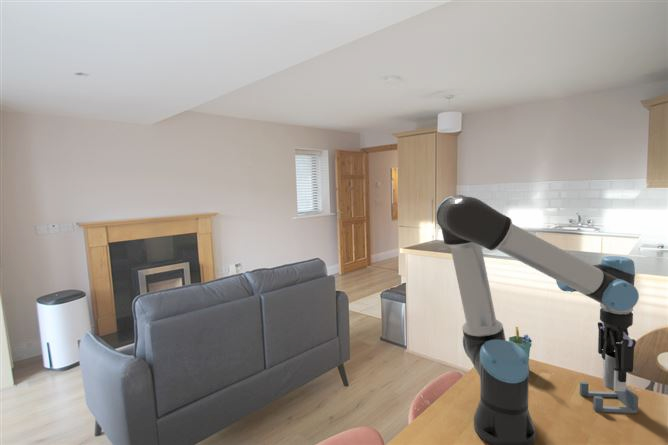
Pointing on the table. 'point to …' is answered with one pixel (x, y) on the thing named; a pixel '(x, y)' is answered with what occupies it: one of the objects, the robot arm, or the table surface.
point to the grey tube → (610, 370)
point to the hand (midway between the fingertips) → (613, 385)
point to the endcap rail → (625, 397)
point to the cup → (522, 342)
